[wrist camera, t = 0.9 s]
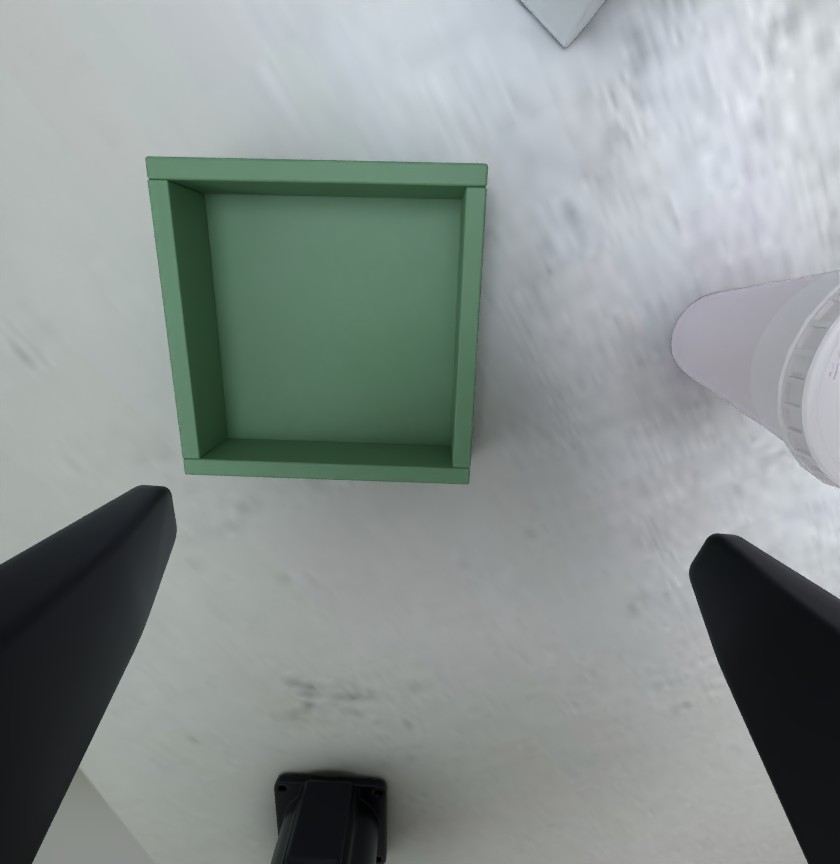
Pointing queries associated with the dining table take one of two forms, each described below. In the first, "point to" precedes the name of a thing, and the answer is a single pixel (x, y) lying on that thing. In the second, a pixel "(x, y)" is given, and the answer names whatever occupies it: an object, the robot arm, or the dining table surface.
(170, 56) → the dining table surface
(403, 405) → the caddy
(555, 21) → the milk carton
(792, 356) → the smoothie
